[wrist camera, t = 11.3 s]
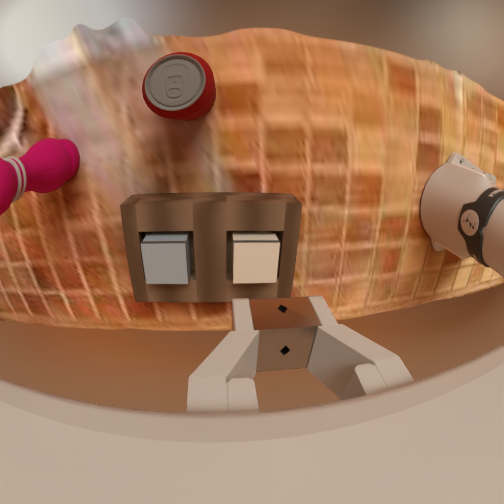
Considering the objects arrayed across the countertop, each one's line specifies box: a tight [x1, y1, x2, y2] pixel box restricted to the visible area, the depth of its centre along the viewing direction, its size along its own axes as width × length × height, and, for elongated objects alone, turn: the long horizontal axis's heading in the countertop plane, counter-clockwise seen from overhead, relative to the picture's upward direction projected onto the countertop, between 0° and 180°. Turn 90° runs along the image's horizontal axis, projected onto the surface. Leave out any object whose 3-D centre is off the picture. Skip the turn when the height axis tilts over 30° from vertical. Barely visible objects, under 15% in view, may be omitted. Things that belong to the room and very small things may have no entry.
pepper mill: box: [0, 138, 80, 215], centre depth 22 cm, size 7×7×20 cm
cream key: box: [231, 231, 280, 283], centre depth 36 cm, size 6×6×5 cm
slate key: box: [141, 231, 191, 284], centre depth 34 cm, size 6×6×5 cm
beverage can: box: [142, 52, 216, 121], centre depth 25 cm, size 7×7×12 cm
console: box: [120, 193, 302, 302], centre depth 37 cm, size 22×14×5 cm, turn 88°
